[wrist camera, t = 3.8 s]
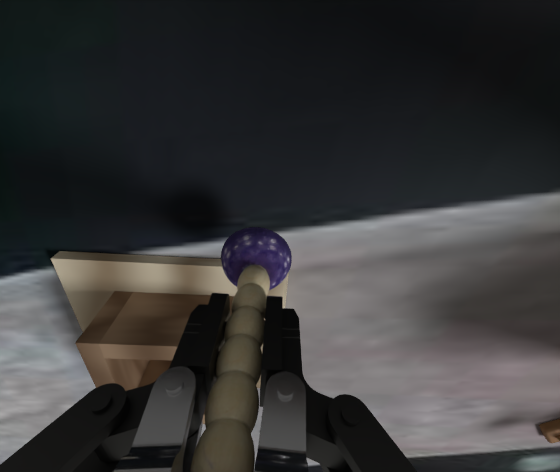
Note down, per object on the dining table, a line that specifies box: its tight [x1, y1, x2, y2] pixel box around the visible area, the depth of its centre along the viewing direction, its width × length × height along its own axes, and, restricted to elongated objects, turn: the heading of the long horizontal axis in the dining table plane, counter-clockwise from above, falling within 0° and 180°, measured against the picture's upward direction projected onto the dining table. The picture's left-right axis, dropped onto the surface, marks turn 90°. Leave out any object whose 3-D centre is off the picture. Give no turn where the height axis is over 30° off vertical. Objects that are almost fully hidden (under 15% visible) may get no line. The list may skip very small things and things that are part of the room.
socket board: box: [51, 251, 289, 424], centre depth 23 cm, size 18×16×6 cm
